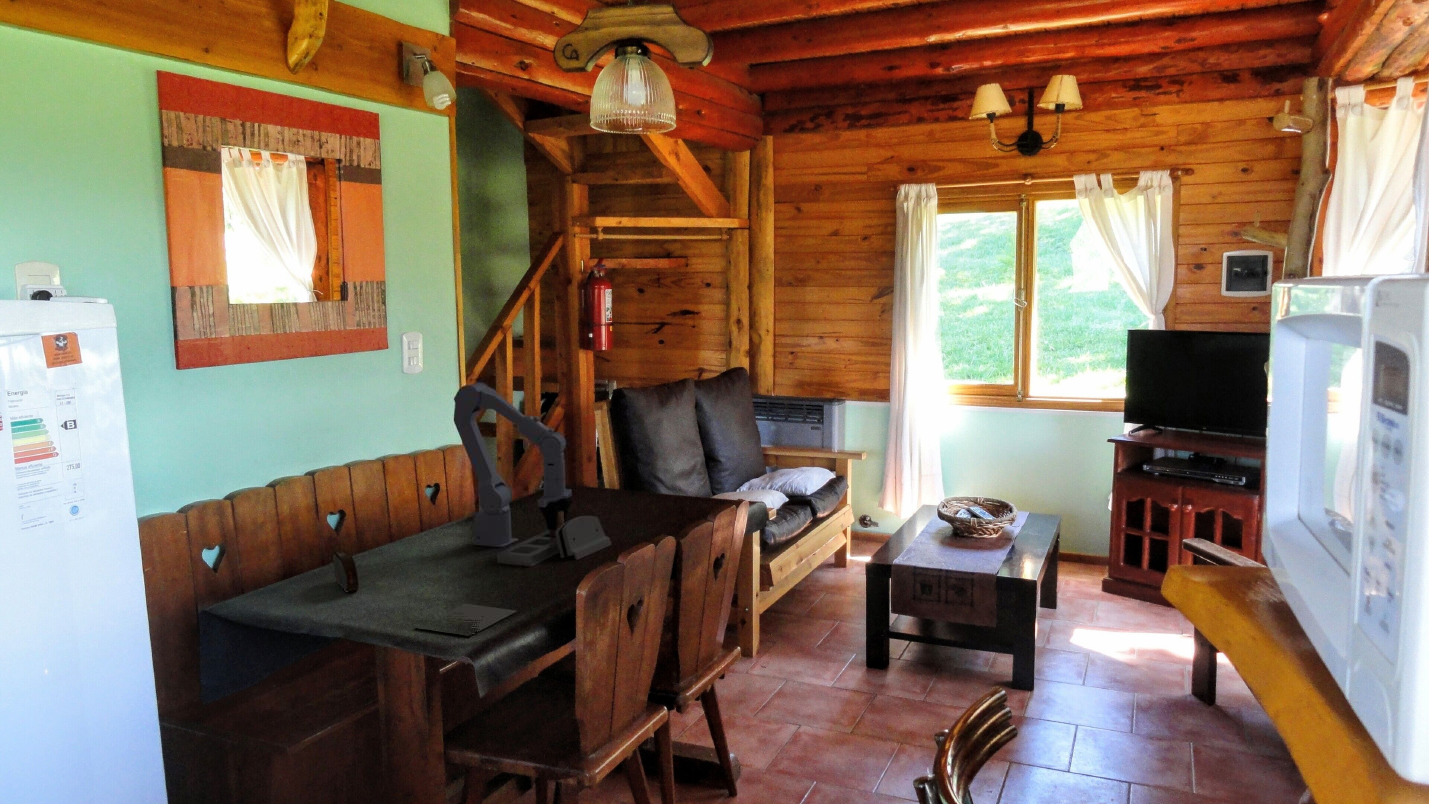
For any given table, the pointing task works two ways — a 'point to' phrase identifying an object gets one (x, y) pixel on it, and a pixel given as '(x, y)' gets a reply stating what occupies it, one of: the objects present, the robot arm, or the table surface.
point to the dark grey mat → (480, 614)
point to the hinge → (581, 537)
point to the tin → (345, 570)
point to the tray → (530, 551)
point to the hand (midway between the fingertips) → (556, 527)
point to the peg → (558, 523)
